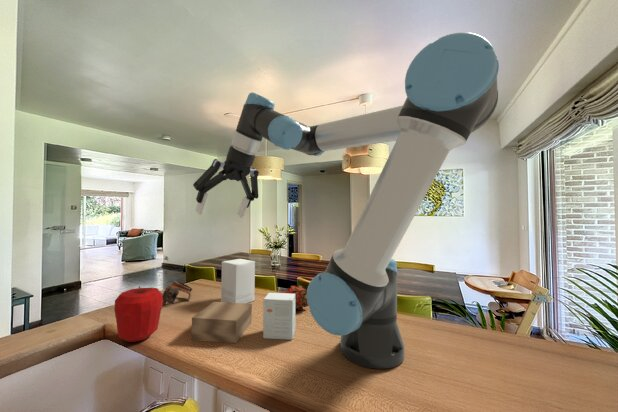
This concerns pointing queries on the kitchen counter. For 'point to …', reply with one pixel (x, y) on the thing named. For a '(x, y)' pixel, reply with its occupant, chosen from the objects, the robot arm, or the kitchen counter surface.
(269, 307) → the small box
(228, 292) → the supplement box
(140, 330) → the apple
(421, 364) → the kitchen counter surface
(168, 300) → the brown grey ring
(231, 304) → the walnut block
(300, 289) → the dragon fruit
